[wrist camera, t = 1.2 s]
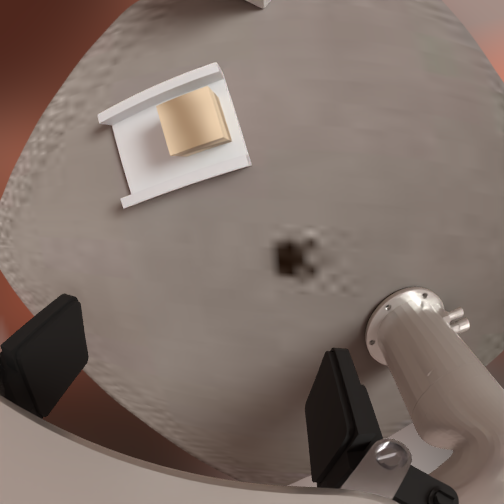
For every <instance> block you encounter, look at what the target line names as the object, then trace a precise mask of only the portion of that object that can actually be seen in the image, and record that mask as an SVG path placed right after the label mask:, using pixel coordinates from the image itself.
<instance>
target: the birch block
mask: <svg viewBox="0 0 504 504" xmlns="http://www.w3.org/2000/svg"><path fill="white" fill-rule="evenodd" d="M156 108H157V111H158V115H159V119H160V122H161V126H162V129H163V133H164V136H165V140H166V143H167V146H168V150H169V153H170V156H182V157H187V156H190V155H193V154H196V153H199V152H202V151H204V150H207V149H210V148H213V147H216V146H219V145H223V144H226V143H229V142H232V139H231V136H230V133H229V129H228V126H227V123H226V120H225V116H224V113H223V110H222V107H221V104H220V100H219V97H218V96H217V95H216V94H215V93H214V92H213V91H212V90H211V89H210V88H209V87H208V86H206V87H203V88H200V89H197V90H195V91H192V92H189V93H187V94H184V95H181V96H179V97H176V98H174V99H171V100H169V101H167V102H164V103H162V104H159V105H157V106H156Z"/></svg>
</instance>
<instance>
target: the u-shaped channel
mask: <svg viewBox="0 0 504 504" xmlns="http://www.w3.org/2000/svg"><path fill="white" fill-rule="evenodd" d="M206 86H208V87H209V88H210V89H211V90H212V91H213V92H214V93H215V94H216V95H217V96H218V97H219V100H220V104H221V107H222V110H223V113H224V116H225V120H226V123H227V126H228V129H229V133H230V136H231V139H232V142H229V143H226V144H223V145H219V146H216V147H213V148H210V149H207V150H204V151H202V152H199V153H196V154H193V155H190V156H187V157H182V156H170V153H169V150H168V146H167V143H166V140H165V136H164V133H163V129H162V126H161V122H160V119H159V115H158V111H157V108H156V106H157V105H159V104H162V103H164V102H167V101H169V100H171V99H174V98H176V97H179V96H181V95H184V94H187V93H189V92H192V91H195V90H197V89H200V88H203V87H206ZM98 119H99V123H100V124H107V125H112V127H113V131H114V135H115V139H116V143H117V147H118V150H119V154H120V158H121V161H122V165H123V168H124V172H125V175H126V178H127V182H128V185H129V188H130V191H131V195H128V196H126V197H124V198H121V199H120V200H121V203H122V206H123V209H124V208H127V207H130V206H133V205H136V204H139V203H141V202H144V201H146V200H149V199H152V198H155V197H157V196H160V195H163V194H166V193H168V192H171V191H174V190H177V189H180V188H183V187H185V186H188V185H191V184H194V183H197V182H200V181H203V180H206V179H210V178H213V177H216V176H219V175H222V174H225V173H229V172H232V171H235V170H238V169H242V168H245V167H248V166H252V164H251V161H250V158H249V154H248V151H247V148H246V144H245V141H244V138H243V135H242V131H241V128H240V125H239V122H238V119H237V115H236V112H235V109H234V106H233V103H232V99H231V96H230V93H229V90H228V87H227V84H226V81H225V78H224V75H223V72H222V70H221V69H220V67H219V65H218V64H217V62H215V63H212V64H209V65H206V66H203V67H200V68H198V69H195V70H192V71H190V72H187V73H184V74H182V75H179V76H177V77H174V78H172V79H169V80H167V81H165V82H162V83H160V84H158V85H155V86H153V87H151V88H149V89H147V90H144V91H142V92H140V93H138V94H136V95H134V96H132V97H130V98H128V99H126V100H124V101H122V102H120V103H118V104H116V105H114V106H112V107H110V108H109V109H107V110H105V111H103V112H101V113H99V114H98Z"/></svg>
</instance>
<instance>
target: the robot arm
mask: <svg viewBox="0 0 504 504" xmlns="http://www.w3.org/2000/svg"><path fill="white" fill-rule="evenodd" d="M462 316H463V310H462V308H461V307H459V308H457V309H454V310H452V311H450V312H448V311H445V308H444V305H443V303H442V301H441V300H440V298H439V297H438V296H437V295H436V294H435V293H434V292H432V291H430V290H429V289H426V288H423V287H409V288H405V289H402V290H399V291H397V292H395V293H393V294H392V295H390V296H389V297H387V298H386V299H385V300H384V301H383V302H382V303H381V304H380V305H379V306H378V307H377V308H376V309H375V311H374V312H373V314H372V315H371V317H370V319H369V321H368V324H367V327H366V333H365V341H366V345H367V348H368V351H369V353H370V355H371V356H372V357H373V358H374V359H375V360H376V361H377V362H379V363H381V364H383V365H387V366H388V367H389V369H390V372H391V374H392V376H393V378H394V380H395V382H396V385H397V387H398V389H399V391H400V394H401V396H402V398H403V401H404V403H405V405H406V408H407V410H408V412H409V415H410V417H411V419H412V422H413V424H414V426H415V429H416V431H417V433H418V435H419V436H420V437H421V439H422V440H424V441H425V442H426V443H428V444H429V445H431V446H434V447H438V448H442V449H448V450H453V453H452V455H451V457H449V459H447V460H446V461H445V462H444V463H443V464H442V465H440V466H439V467H438V468H437V469H436V470H434V471H433V472H431V473H430V474H426V473H424V472H422V471H420V470H419V469H417V468H415V467H413V466H412V465H411V462H412V455H411V453H410V450H409V449H408V448H407V447H406V445H405V444H403V443H402V442H400V441H398V440H395V439H389V438H387V439H383V437H382V434H381V431H380V428H379V425H378V422H377V419H376V416H375V413H374V410H373V407H372V404H371V401H370V398H369V395H368V393H367V390H366V388H365V386H364V385H361V384H360V381H359V378H358V375H357V373H356V370H355V367H354V364H353V361H352V359H351V356H350V353H349V351H348V349H341V348H332V349H331V350H330V351H326V352H325V355H324V357H323V360H322V363H321V365H320V368H319V371H318V373H317V376H316V379H315V381H314V384H313V386H312V389H311V391H310V394H309V396H308V399H307V401H306V405H305V414H306V423H307V433H308V443H309V453H310V464H311V475H312V481H313V482H317V487H297V486H279V485H267V484H258V483H249V482H240V481H233V480H226V479H220V478H214V477H208V476H203V475H198V474H193V473H189V472H184V471H180V470H175V469H172V468H168V467H164V466H160V465H156V464H153V463H150V462H146V461H142V460H140V459H136V458H133V457H130V456H127V455H124V454H121V453H118V452H115V451H113V450H110V449H107V448H105V447H102V446H100V445H97V444H94V443H92V442H90V441H87V440H85V439H83V438H80V437H78V436H76V435H74V434H71V433H69V432H67V431H65V430H63V429H61V428H59V427H57V426H55V425H53V424H51V423H48V422H47V421H45V420H43V419H42V418H43V417H46V416H48V414H49V413H50V412H51V410H52V409H53V408H54V406H55V405H56V404H57V402H58V401H59V399H60V398H61V397H62V395H63V394H64V393H65V391H66V390H67V389H68V387H69V386H70V385H71V383H72V382H73V381H74V379H75V378H76V377H77V375H78V374H79V373H80V371H81V370H82V369H83V368H84V366H85V365H86V364H87V361H88V351H87V345H86V339H85V333H84V326H83V319H82V311H81V304H80V302H78V299H77V298H76V297H74V296H71V295H67V294H62V295H61V296H59V297H58V298H57V299H55V300H54V301H53V302H52V303H50V304H49V305H48V306H47V307H45V308H44V309H43V310H42V311H40V312H39V313H38V314H37V315H36V316H34V317H33V318H32V319H31V320H30V321H28V322H27V323H26V324H25V325H23V326H22V327H21V328H20V329H19V330H18V331H16V332H15V333H14V334H13V335H12V336H11V337H9V338H8V339H7V340H6V341H5V342H4V343H3V344H2V345H1V349H2V352H1V353H0V504H504V390H503V389H502V387H501V386H500V385H499V384H498V383H497V381H496V380H495V379H494V378H493V376H492V375H491V374H490V373H489V371H488V370H487V369H486V368H485V367H484V365H483V364H482V363H481V362H480V360H479V359H478V358H477V357H476V356H475V354H474V353H473V352H472V351H471V350H470V348H469V347H468V346H467V345H466V344H465V343H464V341H463V340H462V339H461V338H460V337H459V336H458V334H460V333H462V332H465V331H467V330H469V327H470V325H469V321H468V319H467V318H463V319H461V320H458V321H456V322H455V323H452V324H450V321H451V320H453V319H457V318H459V317H462Z"/></svg>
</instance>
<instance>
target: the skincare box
mask: <svg viewBox="0 0 504 504" xmlns="http://www.w3.org/2000/svg"><path fill="white" fill-rule="evenodd" d="M245 1H247V2H250V3H252V4H254V5H256V6H258V7H260V8H263V9H264V8H265V7H266V6H267V4H268V3H269V2H270V1H271V0H245Z"/></svg>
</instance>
